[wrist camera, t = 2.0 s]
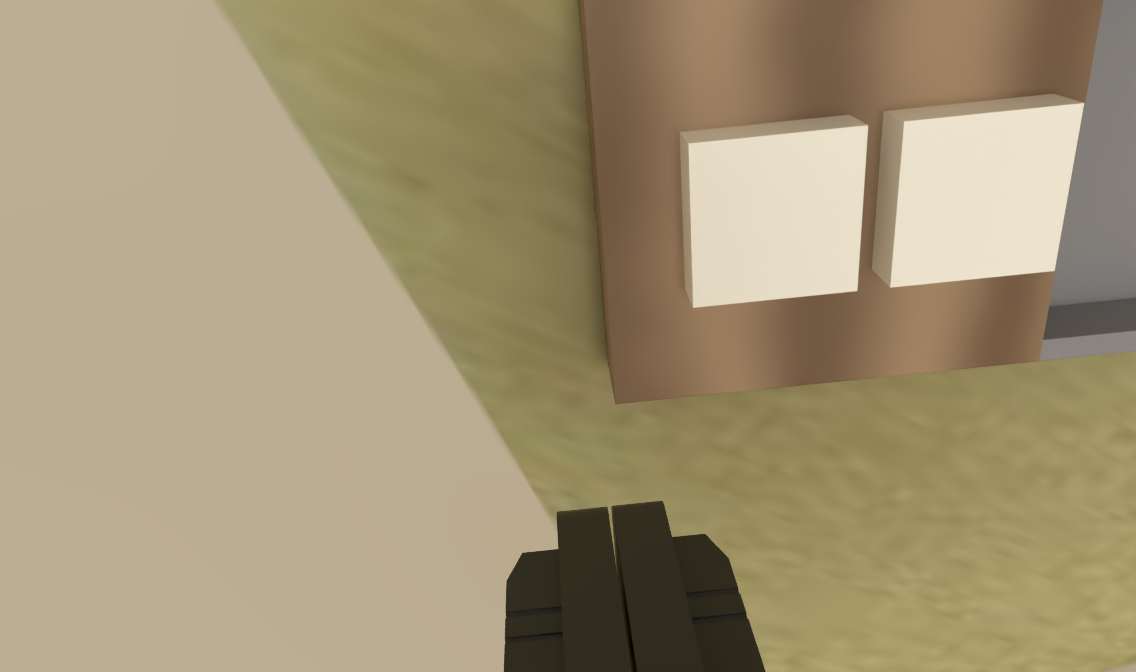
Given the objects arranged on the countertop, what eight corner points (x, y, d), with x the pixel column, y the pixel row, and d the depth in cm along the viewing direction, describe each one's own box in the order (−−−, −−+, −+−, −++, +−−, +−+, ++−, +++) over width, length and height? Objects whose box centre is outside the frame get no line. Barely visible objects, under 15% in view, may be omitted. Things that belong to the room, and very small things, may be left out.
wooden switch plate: (1051, -61, 25) (1114, -61, 22) (994, 323, 31) (1039, 361, 28) (577, -13, 25) (583, -7, 22) (608, 363, 31) (615, 404, 28)
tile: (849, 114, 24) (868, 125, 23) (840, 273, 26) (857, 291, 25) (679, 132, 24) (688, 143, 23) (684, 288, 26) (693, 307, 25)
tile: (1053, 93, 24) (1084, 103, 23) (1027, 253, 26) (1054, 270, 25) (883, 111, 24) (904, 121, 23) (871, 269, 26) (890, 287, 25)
